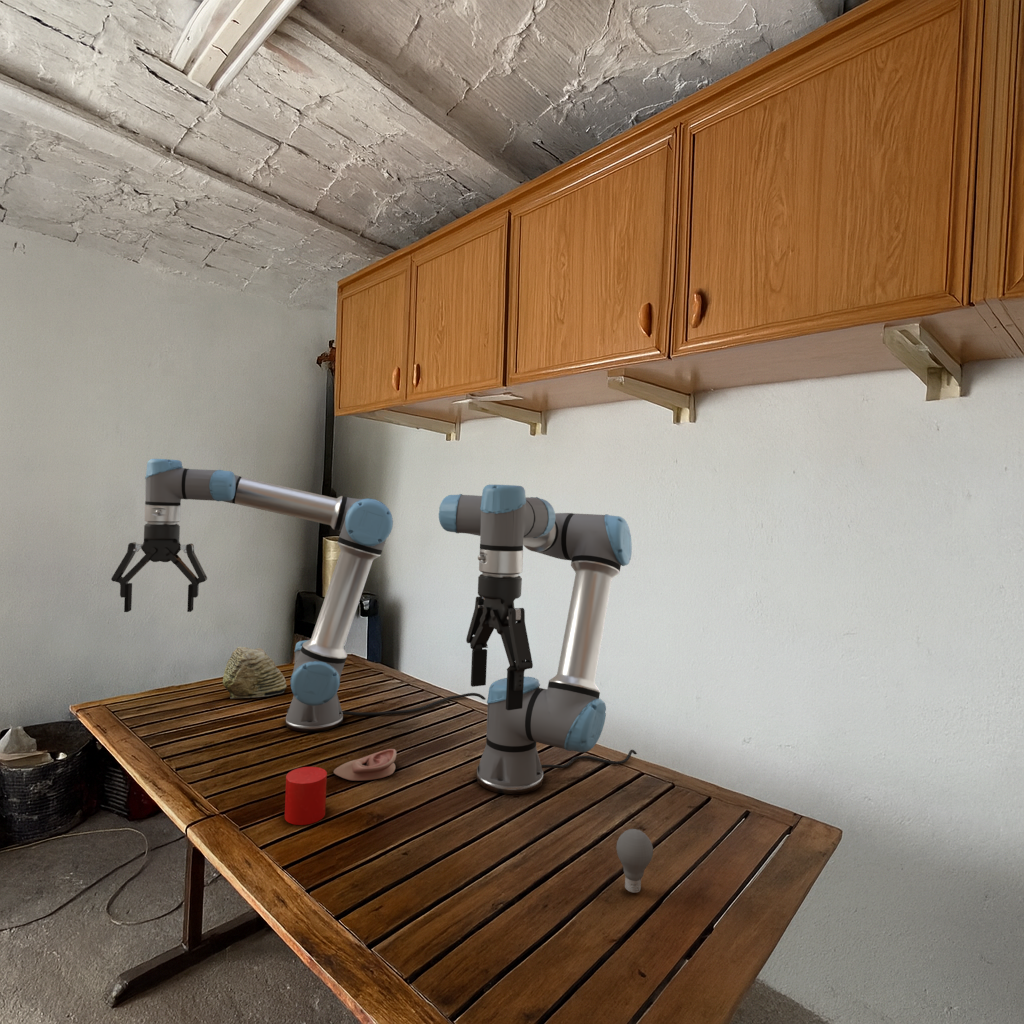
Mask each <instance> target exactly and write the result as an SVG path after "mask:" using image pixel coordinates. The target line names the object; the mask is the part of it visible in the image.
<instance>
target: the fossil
mask: <svg viewBox="0 0 1024 1024" xmlns="http://www.w3.org/2000/svg"><path fill="white" fill-rule="evenodd" d="M222 676H223V677H222V685H223V687H224V688H225V690H226V691H228V693H229V698H230V699H250V698H264V697H271V696H275V695H281V694H284V693H285V691H286V689H287V687H288V686H287V680H286V678H285V676H284V674H283V673H282V672H281V669H279V668H278V667H277V665H276V663H275V662H274V660H273V659H272V658H271V657H270V656H269V655H268V654H267V653H266V652H265V650H264V649H263V648H260V647H258V648H251V647H247V646H246V647H245V646H238V647H237V648H236V649H235V650H233V651H232V653H231V656H230V657H229V659H228V660H227V663H226V666H225V668H224V671H223V675H222Z"/></svg>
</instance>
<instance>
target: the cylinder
mask: <svg viewBox="0 0 1024 1024" xmlns="http://www.w3.org/2000/svg"><path fill="white" fill-rule="evenodd" d="M327 779H328V772H327V770H325V769H324V768H321V767H320V766H319V767H318V766H302V767H297V768H295V769H292V770H290V771H289V772H288V773H287V774H286V776H285V794H284V796H285V797H284V820H285V822H286V823H288V824H290V825H291V824H292V825H293V826H307V825H311V824H315V823H317V822H319V821H321V820H322V819H323V818H324V817H325V816H326V809H327V808H326V806H327V803H326V802H327V784H328V783H327V782H328V781H327Z"/></svg>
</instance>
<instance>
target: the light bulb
mask: <svg viewBox="0 0 1024 1024" xmlns="http://www.w3.org/2000/svg"><path fill="white" fill-rule="evenodd" d="M615 849H616V854H617V857H618V859H619V861H620V863H621V865H622V867H623V873H624V874H623V875H624V876H625V878H624V888H625V890H627V891H628V892H630V893H634V894H635V893H639V892H640V891H641V889H642V887H641V886H642V879H643V877H644V875H645V871H646V868H647V867H648V866H649V864H650V863H651V861H652V859H653V855H654V847H653V843H652V841H651V838H649V836H648V835H647V834H646V833H645V832H643V831H642V830H641V829H636V828H629V829H627V830H625V831H623V832H622V833H621V834H620V835H619V837H618V839H617V841H616V847H615Z"/></svg>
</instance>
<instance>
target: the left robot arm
mask: <svg viewBox="0 0 1024 1024" xmlns="http://www.w3.org/2000/svg"><path fill="white" fill-rule="evenodd" d="M144 479H145V502H144V521H145V522H146V523H145V524H144V525H143V542H142V543H137V542H136V541H133V542H132V541H131V542H129V543H128V544H127V550H126V552H125V554H124V557H123V558H122V560H121V561H120V563H119V565H118V566H117V568H116V570H115V571H114V574H113V575H112V576H111V578H110V580H111V581H112V582H116V583H118V584H119V596H120V598H124V606H123V607H124V608H123V612H124V613H129V612H131V611H132V603H133V582H130V581H131V580H132V579H133V577H135V576H136V575H137V574H138V573H139V572H140V571H141V570H142V569H143V568H144V567H145V566H146V565H147V564H148V563H149V562H150V561H151V562H152V563H158V562H162V563H169V562H171V563H172V564H173V565H175V566H176V568H178V570H179V571H180V572H181V573H182V574H183V575H184V577H185V578H186V579H187V580H188V581H189V584H188V585H187V609H186V610H187V613H192V612H193V611H194V601H195V600H194V599H195V598H198V597H199V590H200V589H199V587H200V584H201V583H204V582H206V581H207V580H208V576H207V574H206V572H205V571H204V569H203V567H202V565H201V562H200V561H199V558H198V557H197V555H196V552H195V545H194V543H187V544H181V541H180V534H181V533H180V532H181V525H180V524H178V523H180V522H181V507H182V506H181V505H182V504H181V503H182V500H196V501H213V502H214V501H216V502H224V503H230V504H234V505H239V506H243V507H247V508H252V509H256V510H260V511H265V512H271V513H274V514H279V515H284V516H288V517H293V518H297V519H301V520H306V521H310V522H314V523H319V524H323V525H328V526H330V527H331V529H332V530H333V531H334V530H335V531H338V532H340V533H339V536H338V539H337V542H336V543H337V545H338V547H339V550H340V552H339V555H338V558H337V561H336V564H335V566H334V570H333V572H332V575H331V579H330V581H329V584H328V588H327V590H326V593H325V596H324V600H323V602H322V605H321V608H320V610H319V614H318V617H317V620H316V623H315V626H314V628H313V631H312V634H311V638H310V639H306V640H305V639H304V640H299V641H298V642H296V643H295V648H294V650H293V651H294V666H293V669H292V674H291V676H290V681H289V682H290V683H289V685H290V689H291V692H292V694H293V695H292V696H293V697H292V699H291V702H290V704H289V708H287V709H286V715H285V726H286V728H287V729H289V730H291V731H294V732H295V731H296V732H301V733H316V732H325V731H329V730H332V729H335V728H337V727H339V726H340V725H342V723H343V722H344V715H345V716H355V717H356V716H359V717H360V716H361V717H370V716H373V717H375V716H389V715H390V716H391V715H400V714H409V713H410V714H411V713H416V712H419V711H423V710H426V709H429V708H431V707H433V706H436V705H439V704H441V703H444V702H446V701H451V700H454V699H455V700H456V699H462V698H466V697H467V698H468V697H478V698H480V699H481V700H486V701H487V699H486V697H485V696H484V695H483V694H481V693H477V692H468V693H462V694H457V695H451V696H447V697H444V698H442V699H439V700H435V701H433V702H430V703H428V704H426V705H423V706H420V707H415V708H410V709H402V710H391V711H390V710H389V711H371V712H370V711H369V712H368V711H367V712H366V711H365V712H360V711H358V712H357V711H349V710H348V711H345V710H343V709H342V706H341V702H340V699H339V695H338V691H339V689H340V687H341V686H340V685H341V676H342V673H343V670H344V667H345V664H346V660H347V658H348V654H347V651H346V650H345V645H346V642H347V639H348V636H349V633H350V631H351V627H352V624H353V621H354V618H355V616H356V613H357V609H358V606H359V603H360V601H361V597H362V594H363V591H364V588H365V585H366V582H367V581H368V580H367V579H368V576H369V573H370V570H371V568H372V564H373V561H374V560H376V559H378V558H379V557H381V556H382V553H383V550H384V547H385V544H386V542H387V539H388V538H389V536H390V535H391V533H392V530H393V525H394V519H393V515H392V512H391V511H390V508H389V507H388V506H387V505H386V504H385V503H384V502H382V501H381V500H377V499H375V498H357V497H356V498H354V497H348V496H345V495H344V496H343V495H340V496H338V497H337V498H336V497H332V496H328V495H323V494H318V493H315V492H310V491H307V490H306V491H305V490H301V489H298V488H292V487H288V486H284V485H279V484H276V483H271V482H266V481H262V480H258V479H255V478H250V477H245V476H242V475H241V476H240V475H237V474H235V473H234V472H233V471H232V470H224V469H201V468H200V469H197V468H186V467H184V466H183V463H182V461H181V460H180V459H167V458H150V459H149V460H148V461H147V463H146V472H145V476H144ZM140 550H142V552H143V553H144V554H145V555H144V556H142V558H140V560H139V561H138V562H137V563H136V564H135V565H133V567H132V568H131V569H130V570H129V571H128V572H127V573H126V574H125V575H124V573H125V571H126V569H127V568H128V566H129V565H130V563H131V561H132V560H133V558H134V556H135V555H136V553H138V552H139V551H140ZM180 551H183V553H185V554H186V555H187V558H188V560H189V561H190V564H191V566H192V568H193V570H194V571H195V573H194V572H193V571H192V570H191V569H190V568H189V567H188V565H186V563H185V562H184V561H183V560H182V558H181V557H180V556H179V553H180ZM195 574H196V575H197V576H196V575H195ZM123 575H124V576H123Z"/></svg>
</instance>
